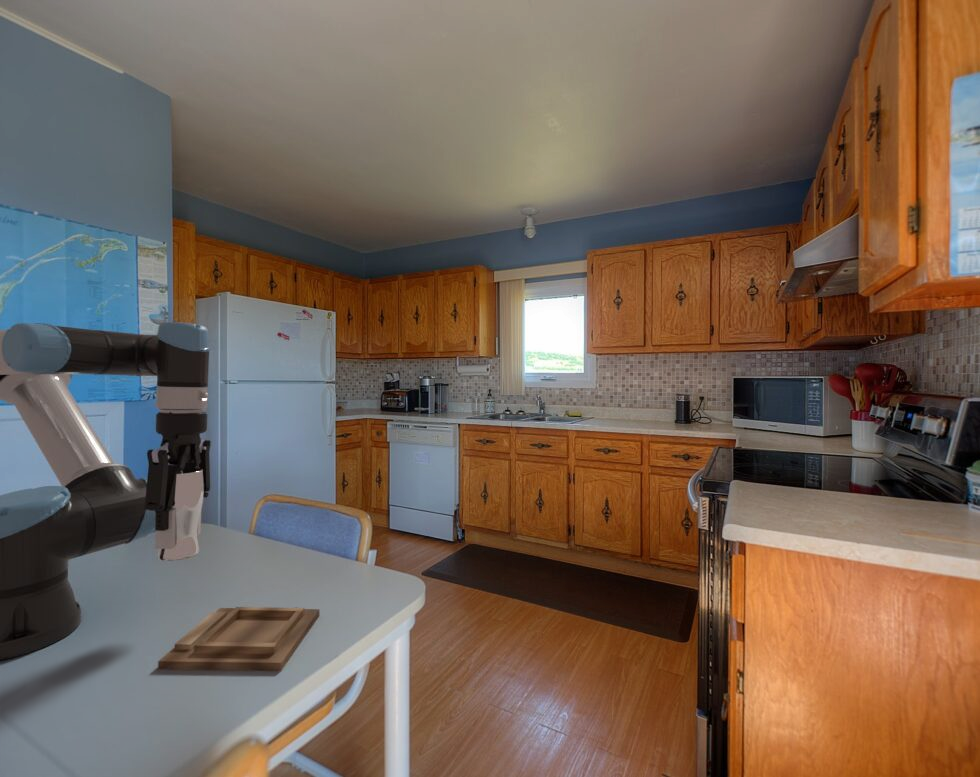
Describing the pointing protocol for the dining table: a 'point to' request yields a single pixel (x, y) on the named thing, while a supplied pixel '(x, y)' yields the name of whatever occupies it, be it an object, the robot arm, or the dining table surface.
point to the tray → (242, 639)
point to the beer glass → (186, 516)
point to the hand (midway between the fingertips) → (179, 540)
